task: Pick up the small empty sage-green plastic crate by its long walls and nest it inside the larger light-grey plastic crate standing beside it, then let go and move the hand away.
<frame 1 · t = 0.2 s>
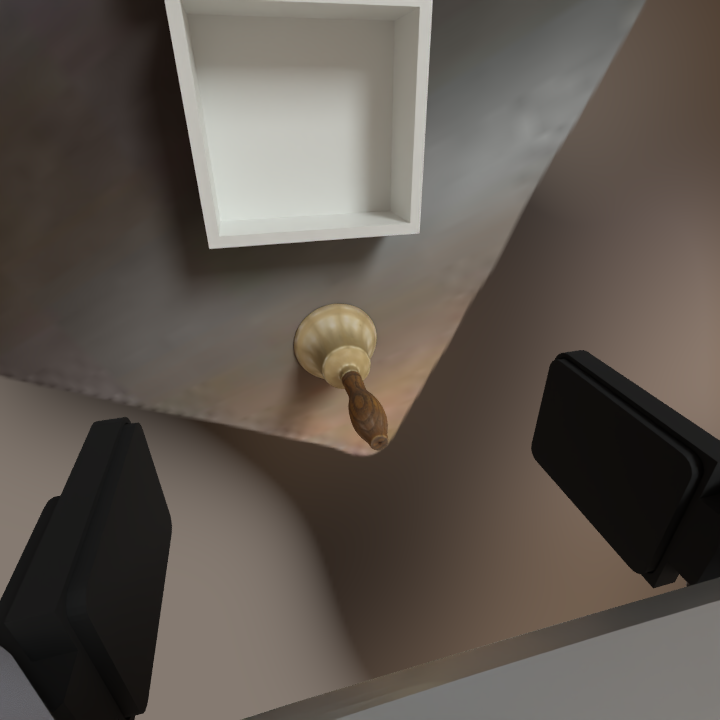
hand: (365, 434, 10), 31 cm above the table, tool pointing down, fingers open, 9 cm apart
hand bell: (335, 341, 44), on the table
big crate: (301, 125, 34), on the table
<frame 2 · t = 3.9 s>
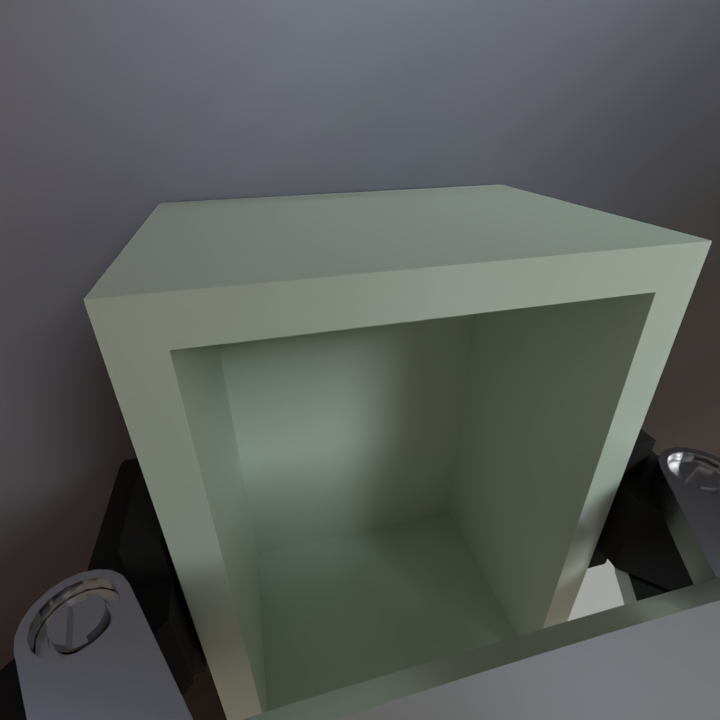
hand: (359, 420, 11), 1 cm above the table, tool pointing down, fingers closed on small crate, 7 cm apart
small crate: (350, 398, 11), on the table, touching gripper
big crate: (468, 644, 19), on the table
when the fingers open (3 cm above the table, at t = 10.3 s): small crate drops 1 cm, resting on big crate.
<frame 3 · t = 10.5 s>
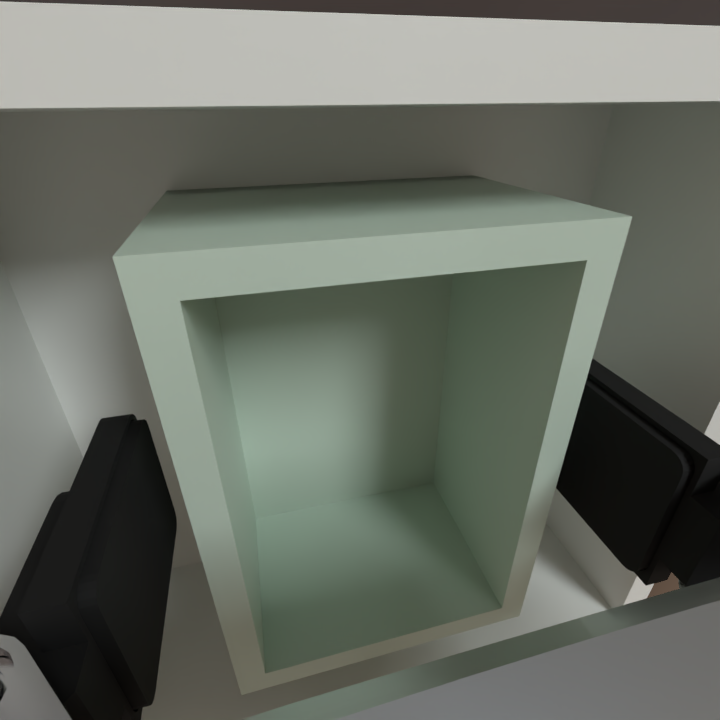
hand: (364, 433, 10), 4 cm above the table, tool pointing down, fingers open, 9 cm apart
small crate: (339, 372, 12), point 1 cm above the table, touching big crate
big crate: (332, 356, 13), on the table
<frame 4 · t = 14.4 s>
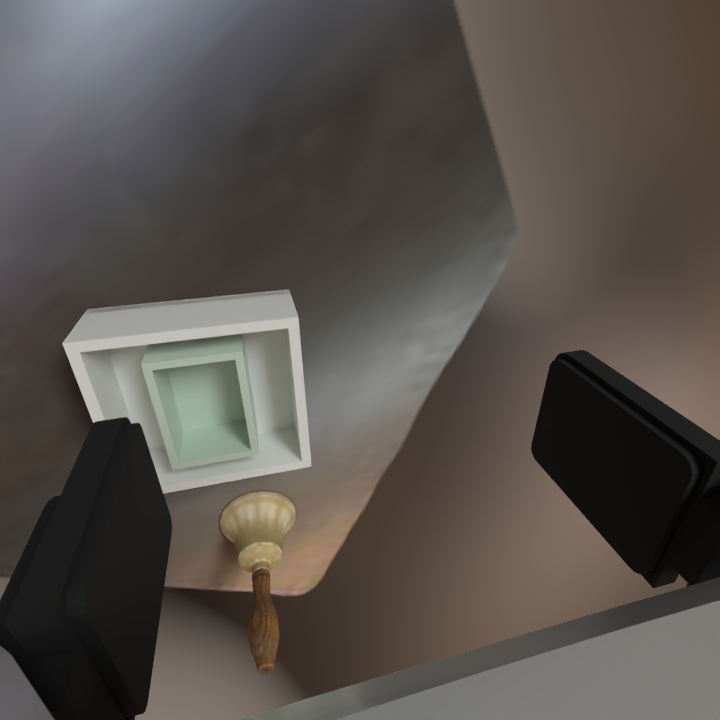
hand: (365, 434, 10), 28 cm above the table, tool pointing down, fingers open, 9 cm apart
hand bell: (258, 516, 49), on the table
small crate: (208, 380, 39), point 1 cm above the table, touching big crate
big crate: (209, 375, 39), on the table
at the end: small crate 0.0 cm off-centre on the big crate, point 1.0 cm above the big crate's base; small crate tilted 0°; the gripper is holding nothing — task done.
